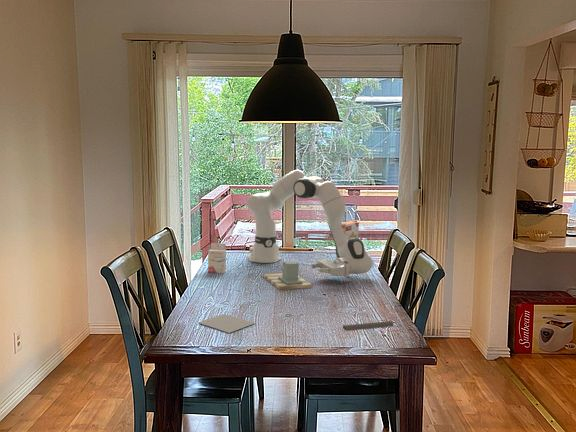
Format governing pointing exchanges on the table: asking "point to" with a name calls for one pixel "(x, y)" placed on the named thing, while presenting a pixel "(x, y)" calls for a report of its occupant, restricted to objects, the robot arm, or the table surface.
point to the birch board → (282, 286)
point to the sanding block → (290, 273)
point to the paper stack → (226, 323)
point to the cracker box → (350, 229)
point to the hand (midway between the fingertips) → (315, 268)
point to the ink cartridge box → (217, 258)
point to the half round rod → (368, 325)
